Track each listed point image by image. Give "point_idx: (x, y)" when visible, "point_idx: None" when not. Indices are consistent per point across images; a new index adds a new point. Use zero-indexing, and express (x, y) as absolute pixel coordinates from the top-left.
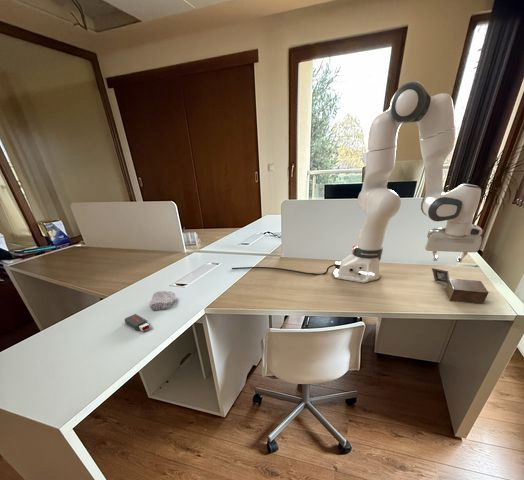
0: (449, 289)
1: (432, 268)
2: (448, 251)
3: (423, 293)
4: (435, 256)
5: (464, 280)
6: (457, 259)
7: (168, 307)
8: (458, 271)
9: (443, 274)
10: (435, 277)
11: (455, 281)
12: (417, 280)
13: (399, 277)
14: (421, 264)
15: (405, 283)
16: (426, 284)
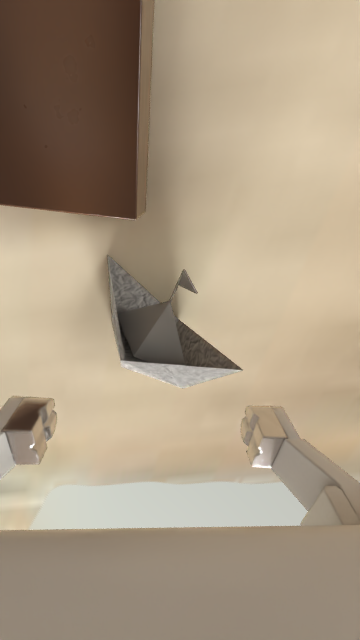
0: (146, 69)
1: (229, 372)
2: (186, 529)
3: (320, 97)
4: (297, 446)
5: (6, 180)
6: (47, 433)
7: None
8: (49, 442)
9: (147, 341)
10: (183, 338)
11: (90, 137)
12: (269, 324)
13: (347, 350)
14: (189, 481)
15: (357, 273)
16: (239, 274)
